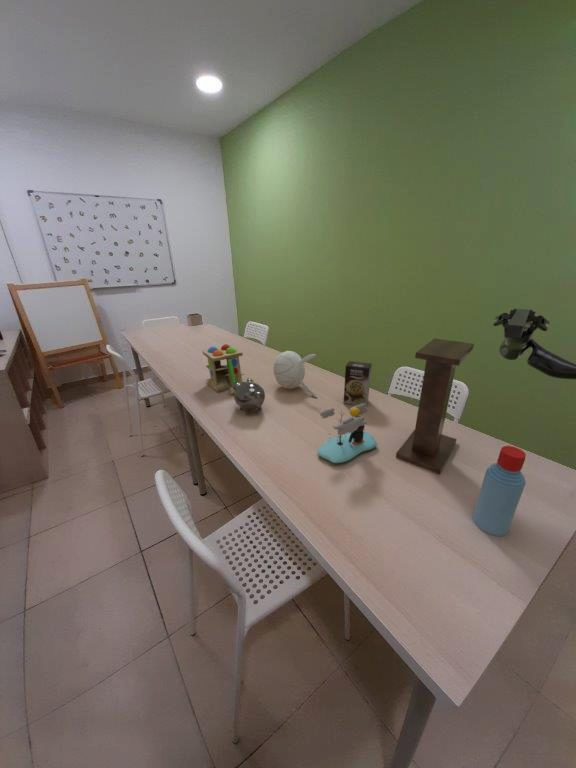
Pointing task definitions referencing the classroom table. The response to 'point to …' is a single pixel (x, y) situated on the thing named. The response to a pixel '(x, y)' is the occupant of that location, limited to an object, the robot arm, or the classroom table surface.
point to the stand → (434, 405)
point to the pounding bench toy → (223, 367)
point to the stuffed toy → (291, 370)
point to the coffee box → (357, 383)
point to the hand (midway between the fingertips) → (522, 312)
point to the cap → (511, 458)
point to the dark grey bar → (517, 324)
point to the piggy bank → (248, 396)
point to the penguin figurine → (347, 437)
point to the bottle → (498, 499)
